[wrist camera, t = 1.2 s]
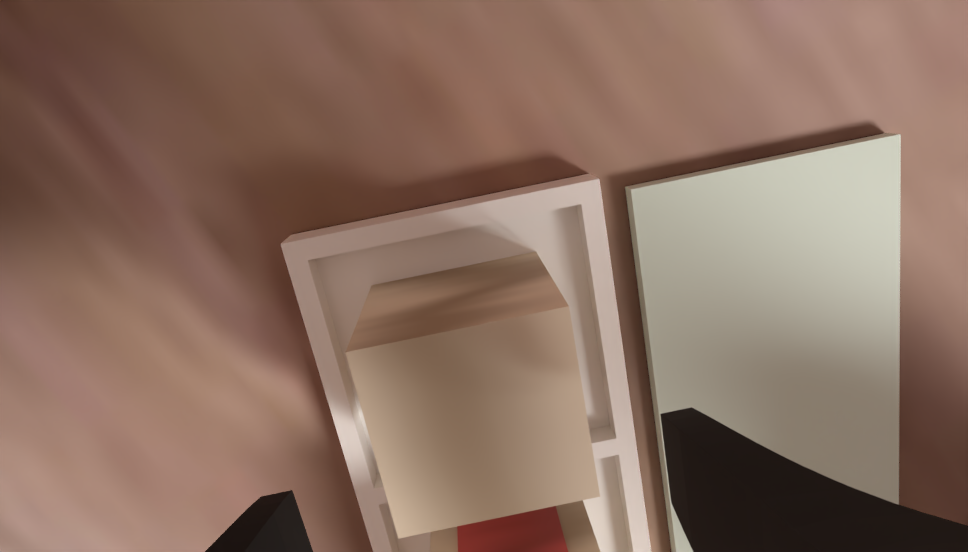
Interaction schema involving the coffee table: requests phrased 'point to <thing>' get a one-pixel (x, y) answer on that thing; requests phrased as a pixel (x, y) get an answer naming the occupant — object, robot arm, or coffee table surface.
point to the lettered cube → (523, 533)
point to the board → (779, 306)
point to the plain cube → (472, 394)
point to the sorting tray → (461, 242)
